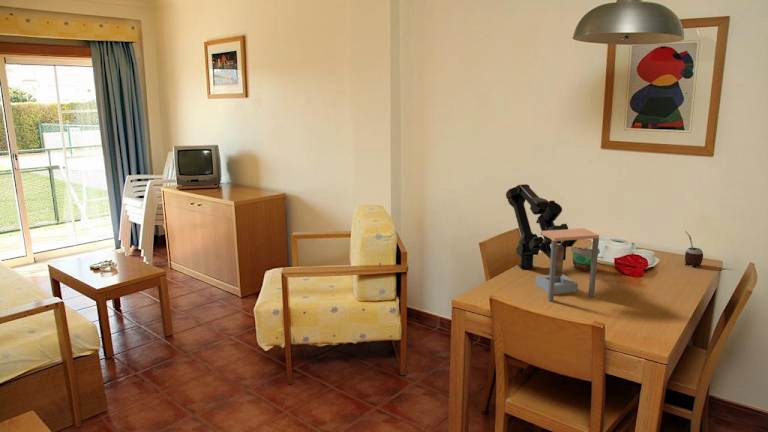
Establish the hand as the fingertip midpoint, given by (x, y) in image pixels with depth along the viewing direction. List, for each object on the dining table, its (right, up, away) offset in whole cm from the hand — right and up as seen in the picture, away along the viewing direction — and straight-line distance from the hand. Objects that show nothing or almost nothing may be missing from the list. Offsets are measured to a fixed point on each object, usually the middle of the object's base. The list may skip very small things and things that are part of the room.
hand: (559, 260), depth 212 cm
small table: (+1, -12, 0) cm, 12 cm away
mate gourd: (+70, -5, +29) cm, 76 cm away
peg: (0, -6, +3) cm, 7 cm away
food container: (+19, -7, +26) cm, 33 cm away
